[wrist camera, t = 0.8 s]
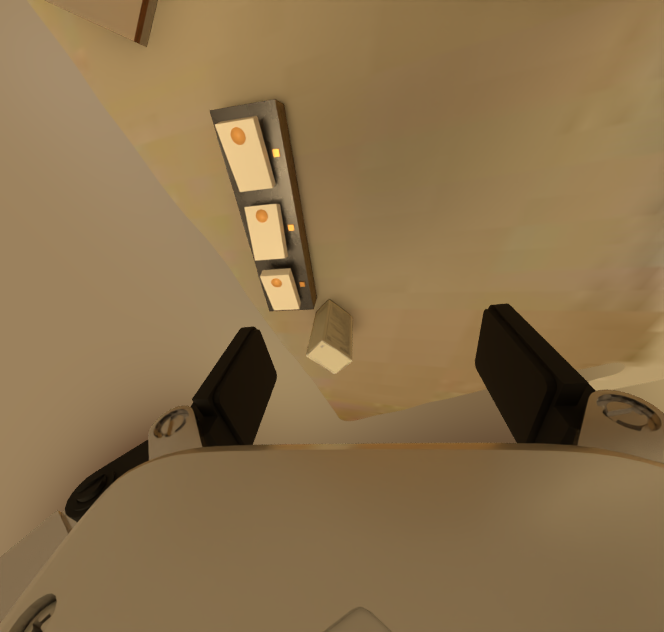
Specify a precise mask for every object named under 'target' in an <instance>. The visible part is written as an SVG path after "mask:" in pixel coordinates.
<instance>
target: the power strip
mask: <svg viewBox="0 0 664 632" xmlns="http://www.w3.org/2000/svg"><path fill="white" fill-rule="evenodd" d="M210 114H211V117H212V120H213V124H214V127H215V124H217V123H219V122H223V121H229V120H235V119H241V118H247V117H253V116H257V117H258V121H259V124H260V128H261V132H262V135H263V139H264V143H265V146H266V150H267V154H268V157H269V161H270V165H271V168H272V172H273V176H274V179H275V183H276V184H275V185H274V187H273V188H269V189H261V190H253V191H244V192H240V191H239V188H238V185H237V183H236V180H235V178H234V175H233V172H232V170H231V167H230V164H229V162H228V159H227V156H226V154H225V151H224V148H223V146H222V143H221V140H220V138H219V135H218V132H217V130H216V127H215V131H216V134H217V139H218V142H219V145H220V149H221V152H222V155H223V159H224V162H225V165H226V169H227V172H228V175H229V179H230V182H231V184H232V187H233V191H234V194H235V197H236V201H237V204H238V207H239V211H240V216H241V219H242V222H243V226H244V229H245V232H246V236H247V239H248V242H249V246H250V248H251V251H252V254H253V258H254V253H253V248H252V243H251V238H250V233H249V228H248V223H247V218H246V213H245V208H244V207H250V206H259V205H268V204H280V207H281V214H282V220H283V227H284V233H285V240H286V246H287V253H288V257H286V258H282V259H269V260H256V261H255V258H254V261H255V264H256V268H257V272H258V276H259V279H260V282H261V286H262V289H263V292H264V296H265V298H266V301H267V304H268V308H269V311H286V310H274V309H273V307H272V305H271V302H270V300H269V297H268V295H267V293H266V290H265V288H264V285H263V283H262V281H261V278H260V275H261V273H262V271H263V270H272V269H286V268H291V271H292V274H293V278H294V281H295V284H296V288H297V291H298V294H299V298H300V301H301V305H300V309H292V310H308V309H314V306H315V302H316V299H317V295H316V290H315V284H314V278H313V272H312V266H311V260H310V254H309V248H308V243H307V237H306V231H305V225H304V219H303V213H302V207H301V201H300V196H299V190H298V184H297V178H296V172H295V166H294V160H293V155H292V149H291V143H290V137H289V131H288V125H287V119H286V113H285V108H284V104H283V103H281V102H279V101H277V100H275V99H273V100H267V101H261V102H255V103H250V104H244V105H238V106H233V107H227V108H221V109H215V110H210Z"/></svg>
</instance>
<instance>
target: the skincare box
mask: <svg viewBox="0 0 664 632" xmlns="http://www.w3.org/2000/svg"><path fill="white" fill-rule="evenodd" d="M352 328H353V317H352V316H351V315H349V314H348V313H347V312H346V311H344V310H343V309H342V308H340V307H339V306H338V305H336V304H335V303H333V302H332V301H331V300H328V301H327V302H326V303H325V304H324V305H323V306H322V307H321V308H320V309H319V310H318V311H317V312H316V315H315V319H314V323H313V328H312V332H311V336H310V340H309V345H308V349H307V354H306V356H307V357H308V358H310V359H311V360H313V361H314V362H316V363H317V364H319V365H321V366H322V367H324V368H325V369H327V370H329V371H330V372H332V373H334V374H336V373H338V372H339V371H340V370H342V369H343V368H344V367H346V366H347V365H348V364H350V363H351V362H352Z"/></svg>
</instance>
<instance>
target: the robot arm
mask: <svg viewBox="0 0 664 632" xmlns="http://www.w3.org/2000/svg"><path fill="white" fill-rule="evenodd" d="M475 366H476V369H477V371H478V373H479V375H480V377H481V378H482V380H483V382H484V384H485V386H486V388H487V389H488V391H489V393H490V395H491V397H492V398H493V400H494V402H495V404H496V406H497V408H498V409H499V411H500V413H501V415H502V417H503V418H504V420H505V422H506V424H507V426H508V427H509V429H510V431H511V433H512V435H513V437H514V438H515V440H516V442H517V443H376V444H375V443H371V444H369V443H368V444H367V443H363V444H362V443H361V444H279V445H253V442H254V439H255V437H256V434H257V431H258V428H259V426H260V423H261V420H262V417H263V415H264V412H265V410H266V407H267V404H268V401H269V399H270V396H271V393H272V390H273V388H274V385H275V382H276V379H277V374H276V370H275V368H274V365H273V363H272V360H271V358H270V355H269V352H268V350H267V347H266V345H265V342H264V339H263V337H262V334H261V332H260V330H257V329H256V328H255V327H244V328H241V329H240V330H239V332H238V333H237V334H236V336H235V337H234V339H233V340H232V341H231V343H230V344H229V346H228V347H227V349H226V351H225V352H224V353H223V355H222V356H221V358H220V359H219V361H218V362H217V363H216V365H215V366H214V368H213V369H212V371H211V372H210V374H209V375H208V377H207V378H206V380H205V381H204V382H203V384H202V385H201V387H200V388H199V390H198V391H197V393H196V394H195V396H194V397H193V399H192V400H193V404H192V405H191V407H189V406H178V407H175V408H173V409H170V410H169V411H167V412H166V413H164V414H163V415H161V416H160V417H159V418H158V419H157V420H156V421H155V422H154V424H153V425H152V427H151V428H150V430H149V435H148V440H147V441H145V442H143V443H142V444H140V445H139V446H137V447H135V448H134V449H132V450H130V451H129V452H127V453H125V454H124V455H122V456H121V457H119V458H117V459H116V460H114V461H112V462H111V463H109V464H108V465H106V466H104V467H103V468H101V469H99V470H98V471H96V472H95V473H93V474H92V475H90V476H89V477H88V478H86V479H85V480H84V481H83V482H82V483H81V484H80V485H79V486H78V487H77V488H76V489H75V491H74V492H73V493H72V494H71V496H70V498H69V499H68V501H67V504H66V507H65V510H64V511H63V512H60V511H58V510H57V511H56V512H55V513H53V514H52V515H51V516H50V517H49V518H47V519H46V520H45V521H44V522H42V523H41V524H40V525H39V526H38V527H36V528H35V529H34V530H33V531H32V532H30V533H29V534H28V535H27V536H26V537H24V538H23V539H22V540H21V541H19V543H17V544H16V545H14V546H13V547H12V548H11V549H10V550H8V551H7V552H6V553H5V554H4V555H2V556H1V557H0V632H664V413H663V412H661V411H660V410H659V409H658V408H656V407H655V406H654V405H652V404H650V403H649V402H647V401H645V400H643V399H641V398H639V397H636V396H634V395H631V394H628V393H624V392H620V391H616V390H598V391H595V390H594V389H593V388H592V387H591V386H590V385H589V384H588V382H587V381H586V380H585V379H584V378H583V377H582V376H581V375H580V374H579V373H578V372H577V371H576V370H575V369H574V368H573V367H572V366H571V365H570V364H569V363H568V362H567V361H566V360H565V359H564V358H563V357H562V356H561V355H560V354H559V353H558V352H557V351H556V350H555V349H554V348H553V347H552V346H551V345H550V344H549V343H548V342H547V341H546V340H545V339H544V338H543V337H542V336H541V335H540V334H539V333H538V332H537V331H536V330H535V329H534V328H533V327H532V326H531V325H530V324H529V323H528V322H527V321H526V320H525V319H524V318H523V317H522V316H521V315H520V314H519V313H517V312H516V311H515V310H514V309H513V308H512V307H511V306H510V305H509V304H497V305H490V306H489V308H488V309H485V310H484V313H483V319H482V324H481V330H480V336H479V341H478V347H477V353H476V359H475Z"/></svg>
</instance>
